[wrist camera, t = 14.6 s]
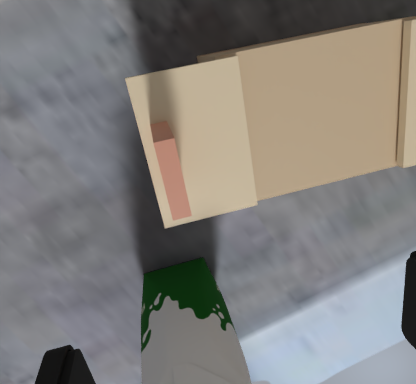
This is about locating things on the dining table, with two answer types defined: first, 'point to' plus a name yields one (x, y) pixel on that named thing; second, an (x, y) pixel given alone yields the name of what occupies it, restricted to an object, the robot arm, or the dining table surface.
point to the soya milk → (188, 329)
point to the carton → (321, 104)
